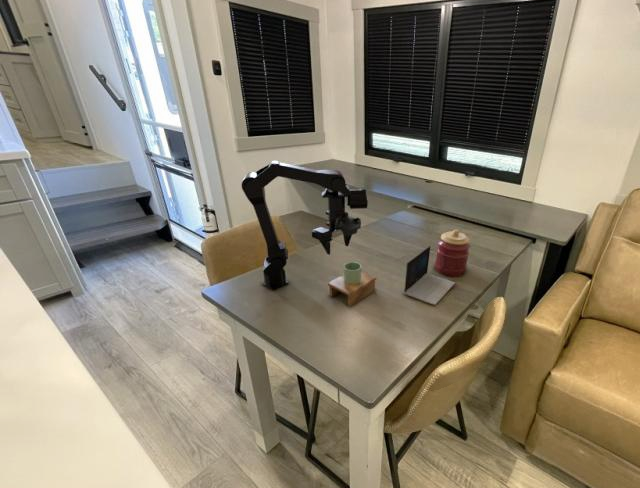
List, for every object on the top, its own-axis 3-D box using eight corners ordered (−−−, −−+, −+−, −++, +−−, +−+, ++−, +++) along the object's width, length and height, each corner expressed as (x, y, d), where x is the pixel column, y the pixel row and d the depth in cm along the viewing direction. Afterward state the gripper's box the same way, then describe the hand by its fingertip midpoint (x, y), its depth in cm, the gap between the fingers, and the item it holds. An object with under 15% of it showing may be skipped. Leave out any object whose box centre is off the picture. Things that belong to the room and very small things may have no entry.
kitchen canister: (471, 269, 139) (479, 231, 130) (453, 280, 130) (460, 239, 121) (446, 258, 146) (452, 221, 137) (428, 268, 137) (433, 228, 129)
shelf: (349, 307, 110) (349, 293, 108) (328, 296, 115) (327, 282, 112) (376, 290, 120) (376, 277, 118) (355, 280, 125) (355, 267, 123)
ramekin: (353, 286, 111) (352, 272, 109) (339, 280, 114) (339, 266, 112) (365, 279, 116) (365, 265, 113) (352, 273, 119) (352, 260, 116)
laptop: (434, 306, 114) (439, 273, 107) (403, 294, 119) (406, 262, 113) (454, 284, 127) (460, 254, 121) (426, 274, 133) (429, 245, 126)
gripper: (333, 222, 102) (335, 266, 109) (372, 208, 115) (371, 248, 123) (309, 213, 107) (312, 256, 115) (349, 201, 121) (349, 239, 128)
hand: (337, 250), depth 120 cm, fingers open, 9 cm apart
